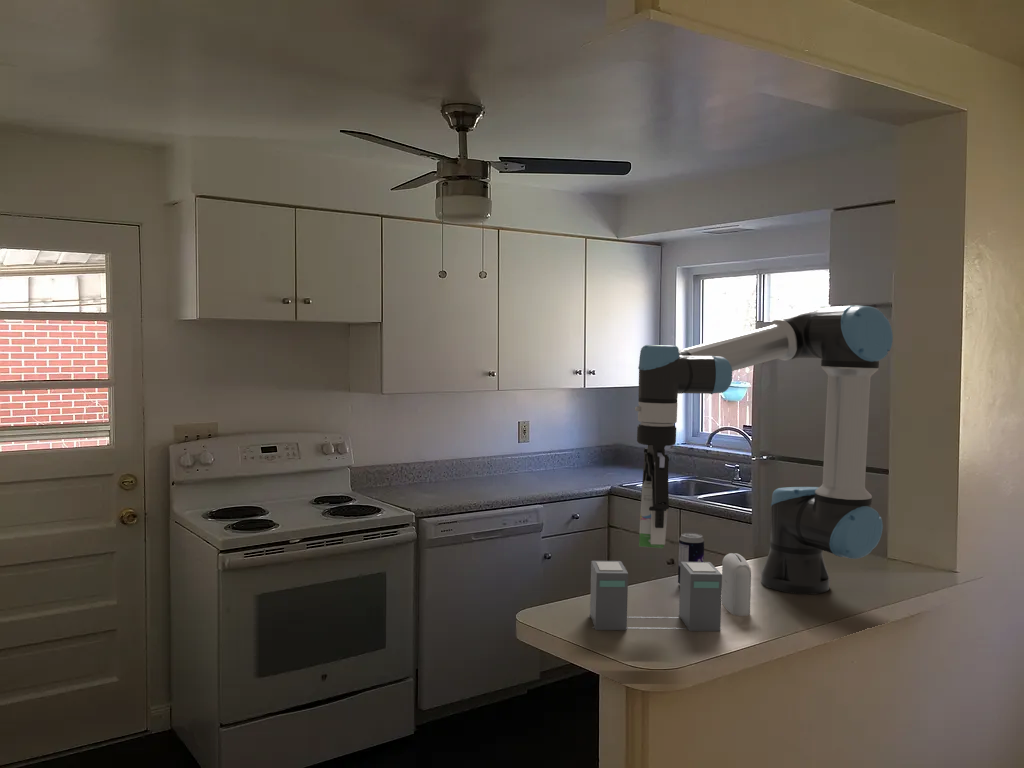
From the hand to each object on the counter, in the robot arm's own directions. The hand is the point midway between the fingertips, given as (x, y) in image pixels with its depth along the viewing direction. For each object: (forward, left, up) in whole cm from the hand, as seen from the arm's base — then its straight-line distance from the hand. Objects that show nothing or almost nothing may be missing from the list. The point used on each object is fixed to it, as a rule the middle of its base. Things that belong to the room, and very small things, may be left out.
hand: (653, 537), depth 168 cm
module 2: (-9, +1, -17) cm, 19 cm away
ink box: (0, 0, -1) cm, 1 cm away
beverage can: (-14, -28, -18) cm, 36 cm away
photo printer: (-19, -9, -18) cm, 28 cm away
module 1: (+9, +1, -17) cm, 19 cm away
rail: (0, +1, -18) cm, 18 cm away
